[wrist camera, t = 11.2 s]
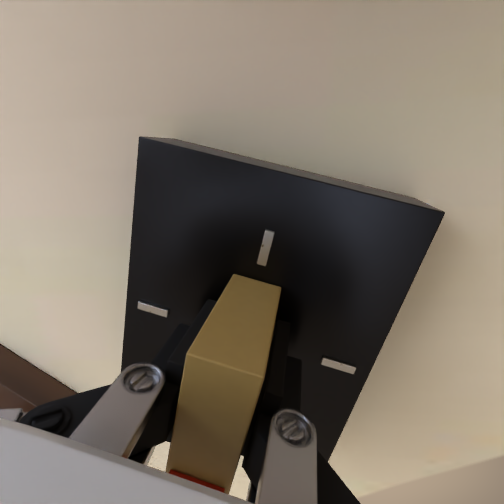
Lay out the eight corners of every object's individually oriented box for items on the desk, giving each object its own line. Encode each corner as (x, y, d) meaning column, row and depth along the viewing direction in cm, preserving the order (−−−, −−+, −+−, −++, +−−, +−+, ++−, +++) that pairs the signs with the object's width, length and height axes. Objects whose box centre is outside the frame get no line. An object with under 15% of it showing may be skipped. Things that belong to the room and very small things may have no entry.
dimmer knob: (233, 272, 12) (181, 360, 7) (282, 286, 12) (263, 385, 7) (210, 377, 14) (157, 500, 9) (251, 390, 14) (220, 523, 9)
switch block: (-2, 343, 20) (-72, 387, 16) (110, 414, 21) (67, 473, 17) (-34, 437, 25) (-95, 488, 21) (59, 494, 25) (16, 555, 21)
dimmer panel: (173, 138, 14) (136, 136, 11) (415, 198, 13) (448, 213, 10) (146, 371, 19) (115, 413, 16) (318, 427, 18) (319, 483, 15)
